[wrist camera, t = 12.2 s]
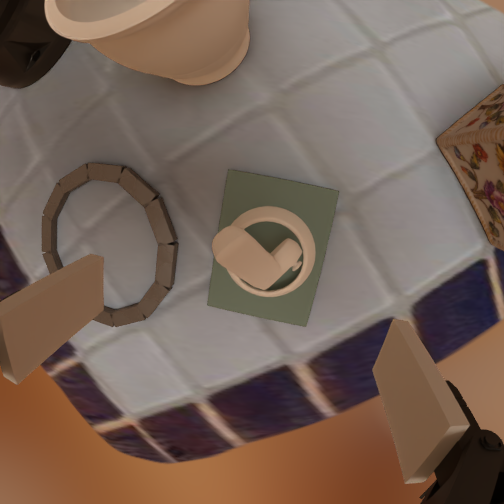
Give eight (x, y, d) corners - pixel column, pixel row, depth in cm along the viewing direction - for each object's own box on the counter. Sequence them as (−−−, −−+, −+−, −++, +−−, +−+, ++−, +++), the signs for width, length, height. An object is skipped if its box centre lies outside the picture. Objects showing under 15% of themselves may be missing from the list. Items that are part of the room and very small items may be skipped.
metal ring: (52, 159, 27) (46, 159, 26) (187, 174, 26) (183, 175, 25) (49, 297, 32) (44, 300, 31) (169, 339, 30) (165, 343, 29)
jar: (257, 99, 24) (212, 21, 9) (142, 99, 25) (23, 59, 10) (266, -4, 21) (240, -119, 7) (158, 2, 22) (74, -77, 8)
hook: (223, 131, 19) (299, 183, 16) (283, 210, 30) (337, 257, 26) (143, 216, 20) (196, 290, 16) (228, 268, 30) (275, 321, 26)
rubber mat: (229, 169, 25) (228, 169, 25) (338, 191, 25) (339, 191, 24) (208, 303, 29) (207, 305, 28) (305, 324, 28) (306, 326, 27)
